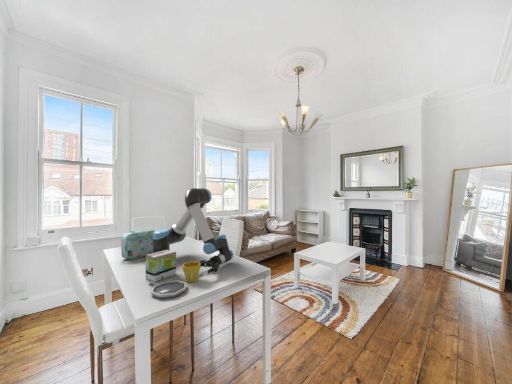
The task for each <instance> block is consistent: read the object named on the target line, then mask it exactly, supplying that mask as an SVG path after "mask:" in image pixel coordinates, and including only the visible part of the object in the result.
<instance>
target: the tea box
mask: <svg viewBox="0 0 512 384" xmlns="http://www.w3.org/2000/svg"><path fill="white" fill-rule="evenodd" d="M144 273H145V274H144V275H145V277H144V278H145V279H146V280H148V281H151V282H152V283H153V282H154V283H156V282H158V281H160V280H163V279H166V278H169V277H172V276H174V275H176V274H177V251H174V250H171V249H170V250H164V251H159V252H155V253H151V254H147V255H146V256H145V272H144Z"/></svg>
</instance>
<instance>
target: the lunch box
mask: <svg viewBox="0 0 512 384" xmlns="http://www.w3.org/2000/svg"><path fill="white" fill-rule="evenodd" d="M154 231H155V230H153V229H151V230H150V229H145V230H143V229H142V230H136V231H134V230H132V231H130V232H125V233H124V234H122V236H121V238H120V247H121V252H120V253H121V257H122V258H123V259H128V260H136V259H141V258H145V257H146V255H147V254H151V253H153V233H154Z"/></svg>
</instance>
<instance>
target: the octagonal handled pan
mask: <svg viewBox="0 0 512 384" xmlns="http://www.w3.org/2000/svg"><path fill="white" fill-rule="evenodd" d="M148 285H149V286H150V287H152V288H151V291H150V294H151V296H152V297H153V298H154V299H158V300H168V299H174V298H177V297H179V296H182V294H185V292H186V290H187V282H186V281H182V280H178V279H175V280H174V279H173V280H166V281H165V280H164V281H163V282H160V283H157V284H156V283H153V282H150V283H148Z"/></svg>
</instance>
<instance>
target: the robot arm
mask: <svg viewBox="0 0 512 384" xmlns="http://www.w3.org/2000/svg"><path fill="white" fill-rule="evenodd" d="M211 201H212V193H211V190H209V189H208V188H205V187H204V188H196V187H193V188H190V189H188V190H187V191H186V192H185V195H184V203H185V204H184V205H185V206H186V209H185V210H184V212H183V213H182V214H181V216H180V217H179V219H178V221H177V222H176V223H173V225H172V226H171V227H170V228H159V229H157V230H154V233H153V253H155V252H159V251H164V250H171V249H170V248H171V247H170V245H173V244H176V243H179V242H182V241H184V240H185V238H186V236H187V235H186V234H187V228H188V227H189V225H190V224H191V223H192V220H193V221H194V223H195V226H196V228H197V230H198V232H199V235H200V237H201V239H202V242H203V247H202V250H203V253H204V254H206V255H211V254H214V253H216V252H218V254H215V255H213V256H211V257H210V258H209V259H208V260H206V259H202V260H199V261H197V262H200V264H201V267H204V268H206V267H208V268H207V269H205V270H203V271H202V277H205V276H207V275H208V274H211V273H217V272H218V270H219V268H220V267H221V265H224V264H225V263H228V262H230V261H231V260H233V258H234V254H235V253H234V252H233V250H231V249H230V248H229V247H230V246H229V243H228V239H227V235H226V234H221V235H217V236H216V237H214V235H213V232H212V230H211V227H210V226H209V224H208V223H209V222H208V221H207V218H206V216H205V214H204V212H203V210H202V209H203V208H204V207H205V206H206V204H208V203H210V202H211Z"/></svg>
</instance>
